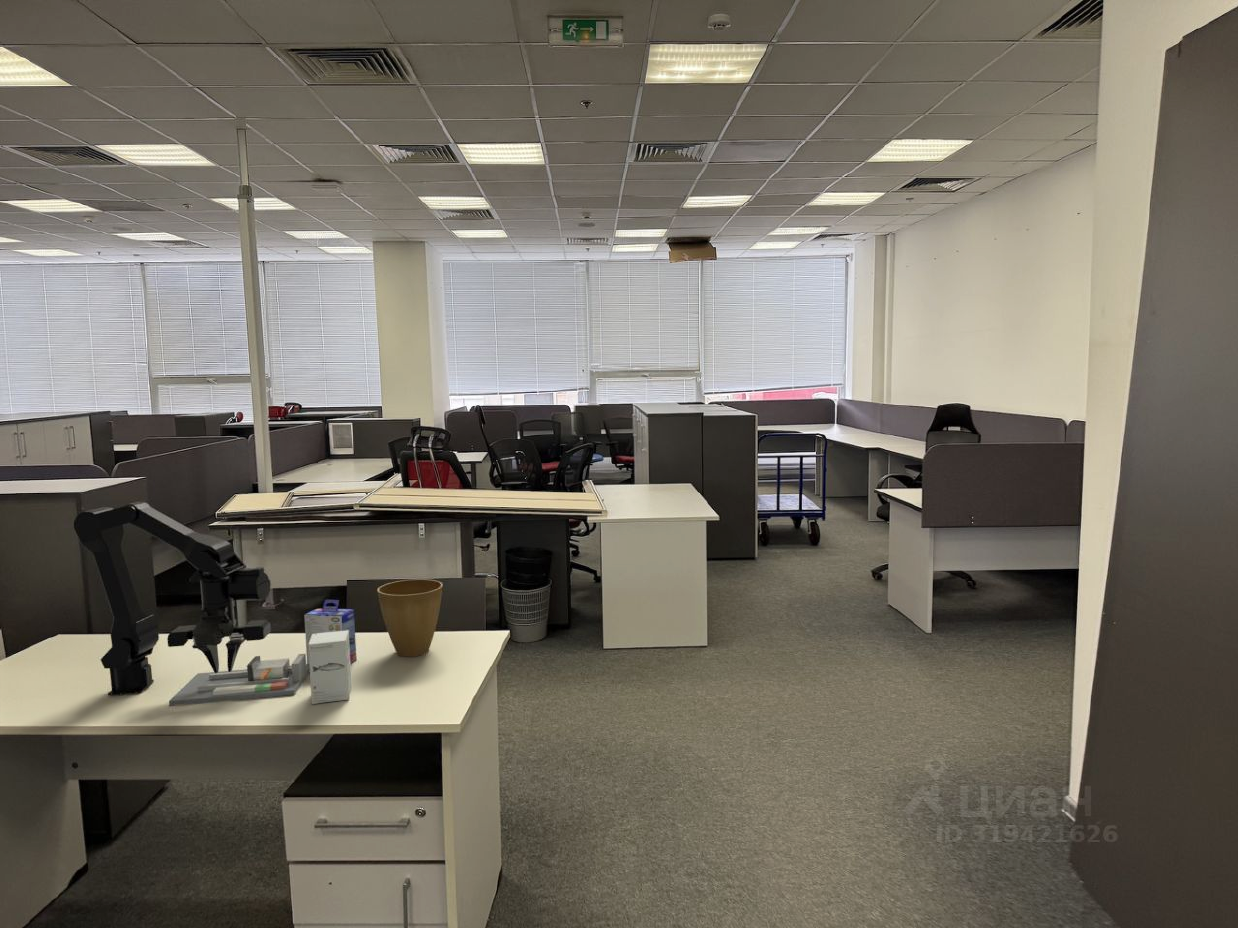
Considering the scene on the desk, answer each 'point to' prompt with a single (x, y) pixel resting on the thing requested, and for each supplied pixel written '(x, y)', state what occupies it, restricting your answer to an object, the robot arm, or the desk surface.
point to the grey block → (267, 669)
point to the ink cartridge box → (331, 624)
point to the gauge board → (240, 685)
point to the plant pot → (411, 613)
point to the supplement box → (330, 666)
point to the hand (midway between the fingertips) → (223, 671)
